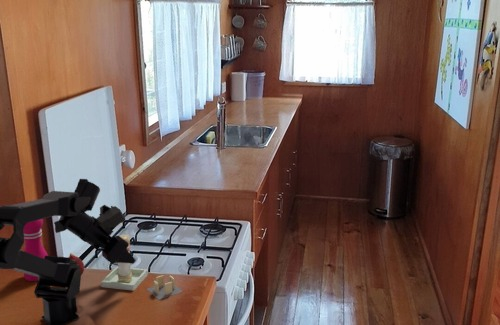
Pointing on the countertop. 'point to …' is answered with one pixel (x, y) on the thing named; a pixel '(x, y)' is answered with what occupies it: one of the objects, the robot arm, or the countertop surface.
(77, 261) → the onion
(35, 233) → the pepper mill
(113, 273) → the tray
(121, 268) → the white and tan post
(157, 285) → the grey stand with brackets
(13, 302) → the countertop surface
